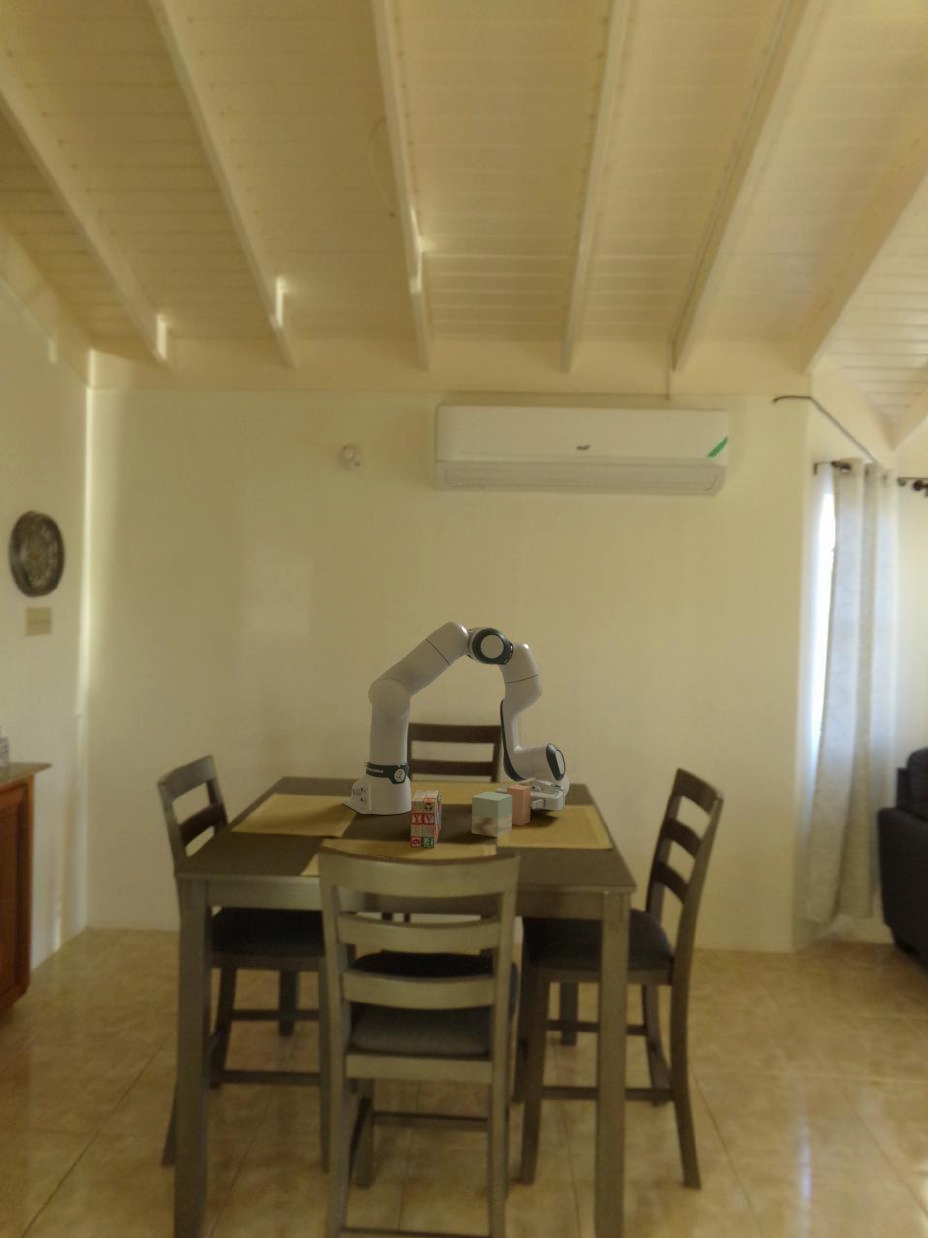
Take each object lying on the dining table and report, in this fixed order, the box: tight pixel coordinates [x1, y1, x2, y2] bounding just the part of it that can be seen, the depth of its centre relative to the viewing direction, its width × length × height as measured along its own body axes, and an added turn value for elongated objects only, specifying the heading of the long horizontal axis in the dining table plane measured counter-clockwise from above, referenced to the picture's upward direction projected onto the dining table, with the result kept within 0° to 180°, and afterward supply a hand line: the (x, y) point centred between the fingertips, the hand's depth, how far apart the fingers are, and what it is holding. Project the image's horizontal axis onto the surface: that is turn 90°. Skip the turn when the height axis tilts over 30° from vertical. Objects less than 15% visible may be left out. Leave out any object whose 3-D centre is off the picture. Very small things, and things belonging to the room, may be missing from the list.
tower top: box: [471, 790, 512, 819], centre depth 254 cm, size 8×8×5 cm
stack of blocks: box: [409, 789, 442, 848], centre depth 249 cm, size 21×6×12 cm, turn 177°
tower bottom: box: [471, 813, 513, 838], centre depth 255 cm, size 8×8×5 cm
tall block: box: [507, 784, 531, 826], centre depth 265 cm, size 5×5×10 cm
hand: (517, 803), depth 265 cm, fingers open, 7 cm apart
